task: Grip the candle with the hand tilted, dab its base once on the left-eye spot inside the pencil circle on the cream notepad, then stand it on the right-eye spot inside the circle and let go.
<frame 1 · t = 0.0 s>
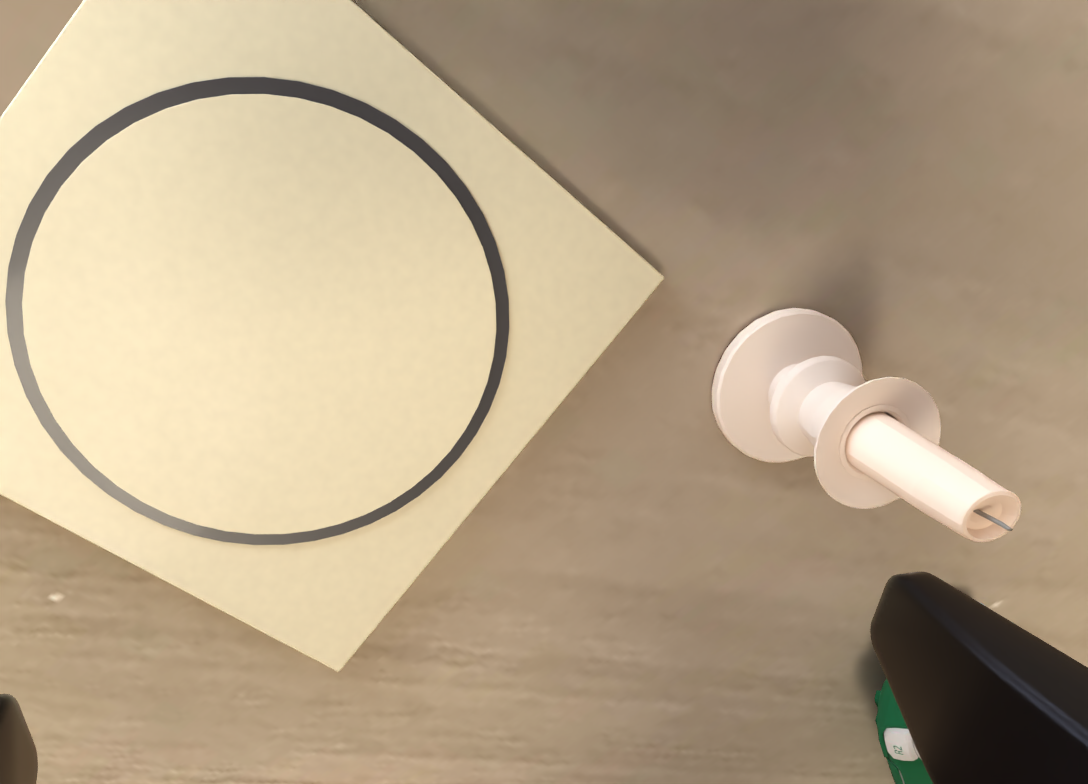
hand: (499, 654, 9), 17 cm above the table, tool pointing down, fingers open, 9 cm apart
candle: (780, 382, 30), on the table
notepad: (275, 324, 25), on the table
gaming controller: (918, 704, 36), on the table
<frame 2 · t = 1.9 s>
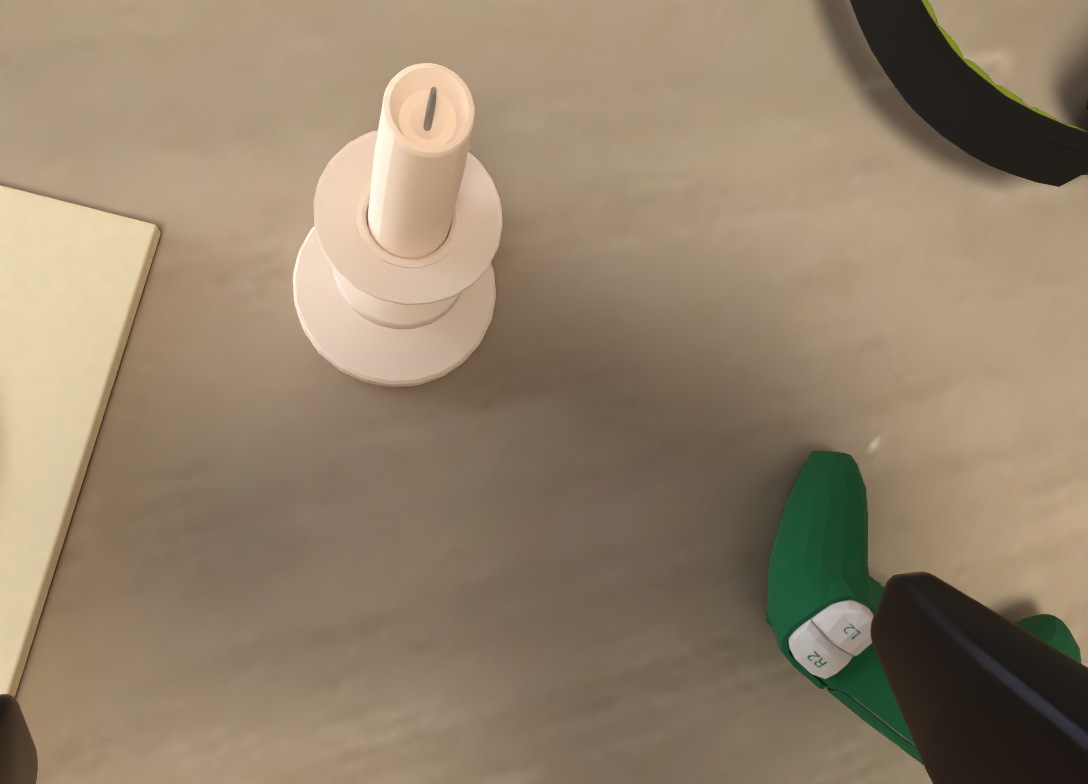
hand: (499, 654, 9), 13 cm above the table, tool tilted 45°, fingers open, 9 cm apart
candle: (395, 293, 24), on the table
headphones: (1069, 32, 31), on the table
gaming controller: (877, 626, 25), on the table
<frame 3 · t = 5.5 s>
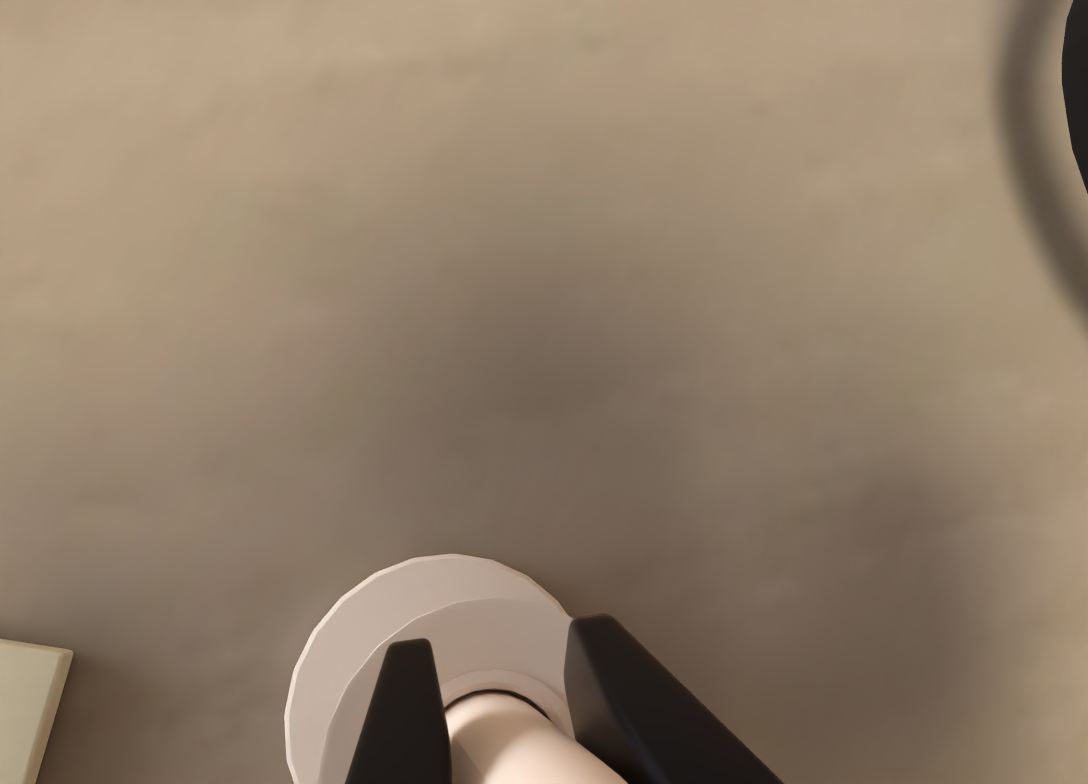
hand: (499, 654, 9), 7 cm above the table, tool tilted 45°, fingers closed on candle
candle: (443, 708, 15), on the table, touching gripper
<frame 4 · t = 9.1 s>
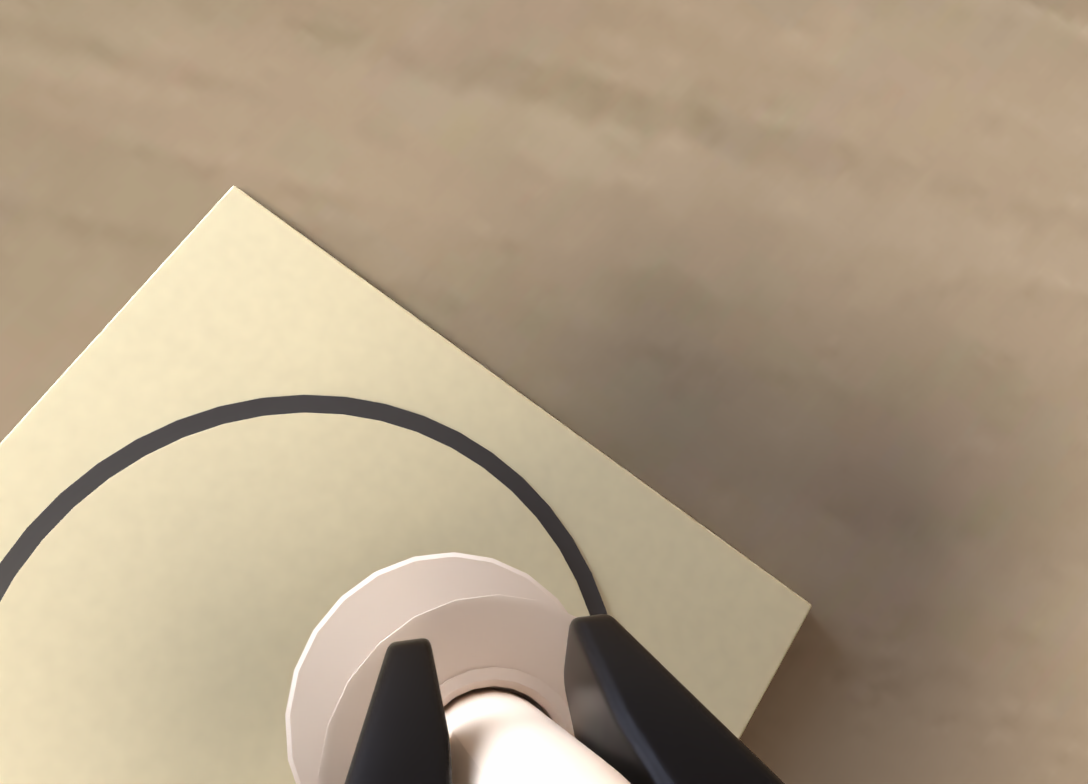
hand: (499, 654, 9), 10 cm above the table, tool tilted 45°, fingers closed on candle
candle: (444, 706, 15), point 4 cm above the table, touching gripper
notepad: (306, 714, 18), on the table
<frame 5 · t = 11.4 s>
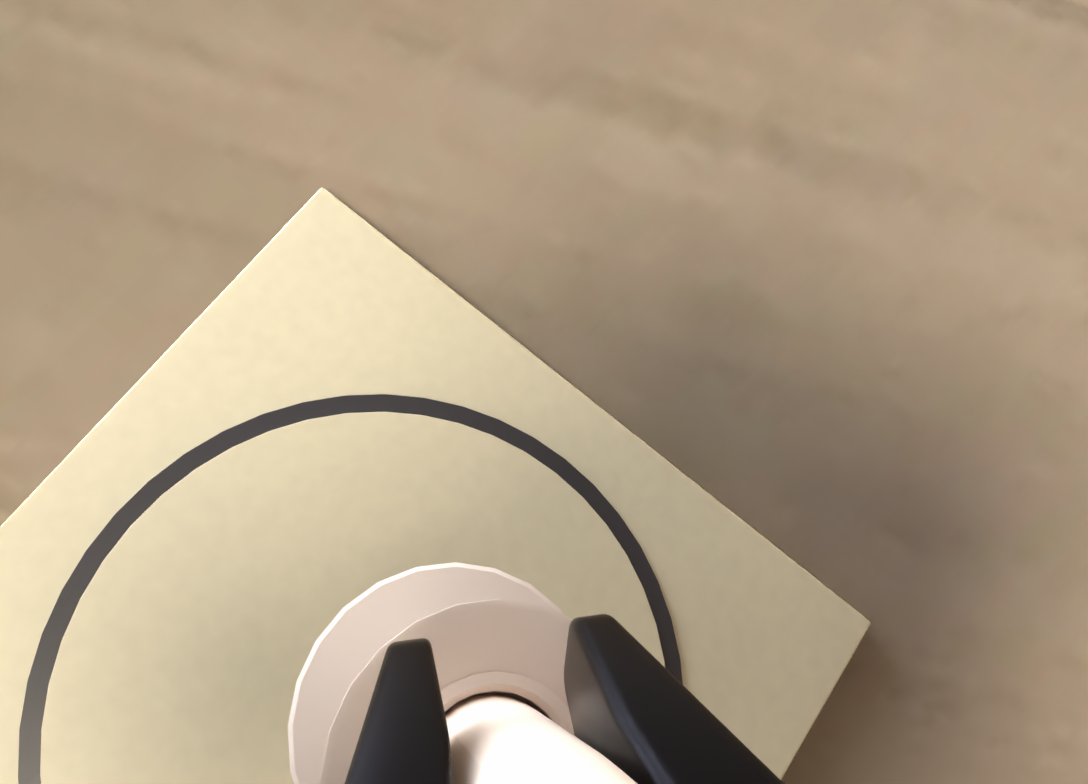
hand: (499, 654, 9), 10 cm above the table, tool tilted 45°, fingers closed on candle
candle: (447, 718, 15), point 4 cm above the table, touching gripper
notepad: (376, 707, 18), on the table
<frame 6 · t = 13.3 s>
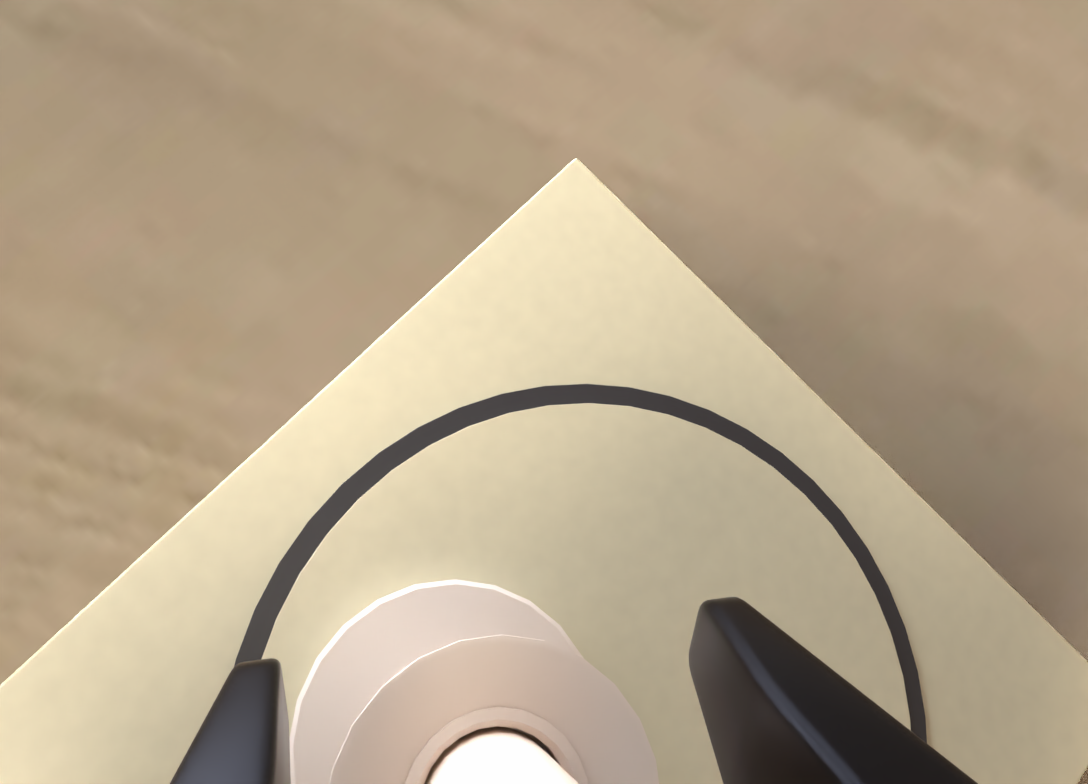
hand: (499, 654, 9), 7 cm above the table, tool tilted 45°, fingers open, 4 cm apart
candle: (446, 733, 15), point 1 cm above the table, touching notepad
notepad: (592, 733, 17), on the table
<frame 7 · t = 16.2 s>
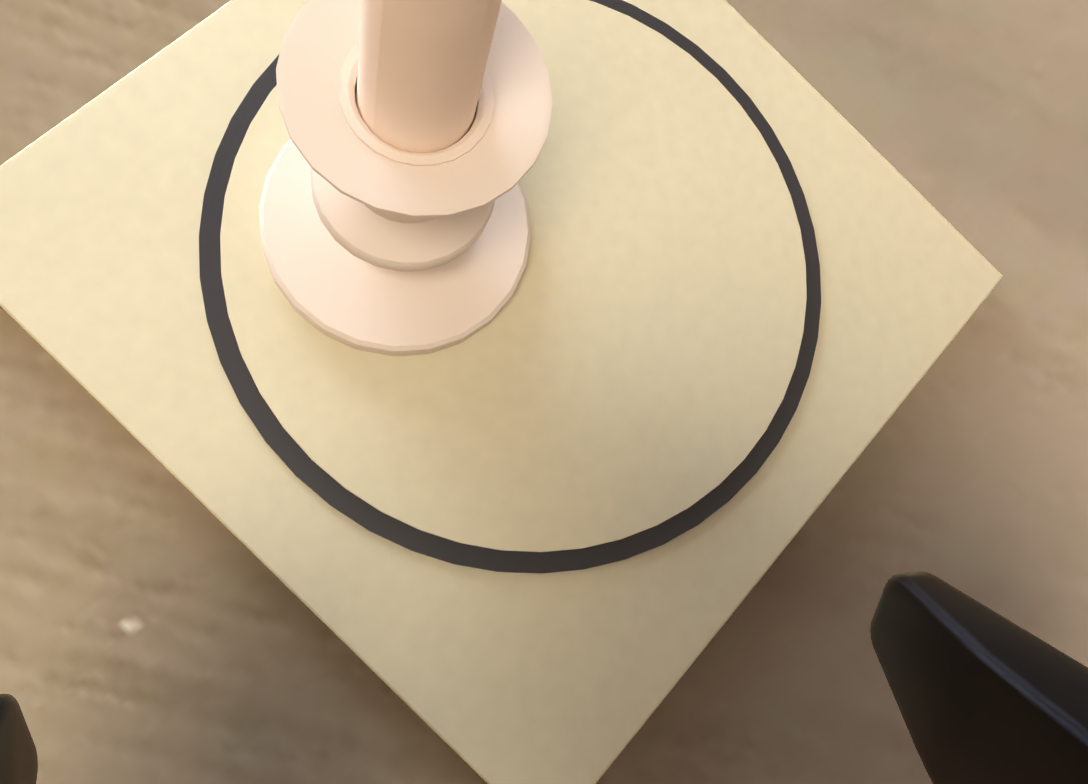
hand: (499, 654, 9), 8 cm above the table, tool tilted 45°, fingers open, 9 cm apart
candle: (397, 233, 18), point 1 cm above the table, touching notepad
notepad: (526, 263, 19), on the table
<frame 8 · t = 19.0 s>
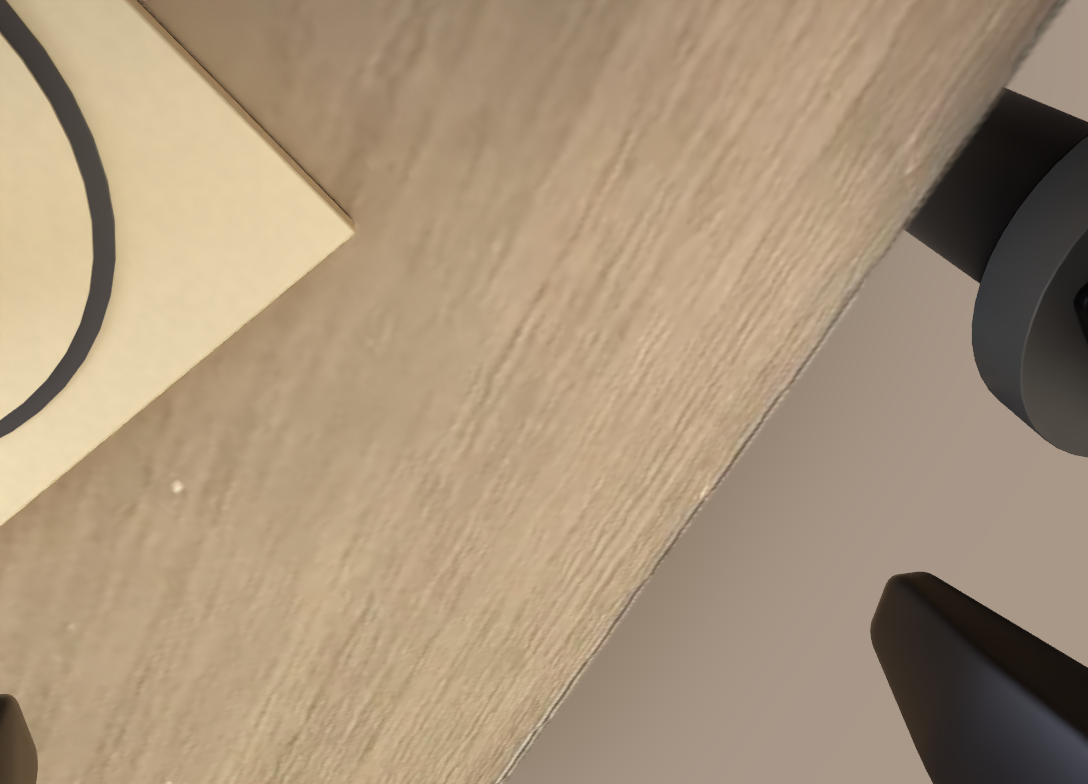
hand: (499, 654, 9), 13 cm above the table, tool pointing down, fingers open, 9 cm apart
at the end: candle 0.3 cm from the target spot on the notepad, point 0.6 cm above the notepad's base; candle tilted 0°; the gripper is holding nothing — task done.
